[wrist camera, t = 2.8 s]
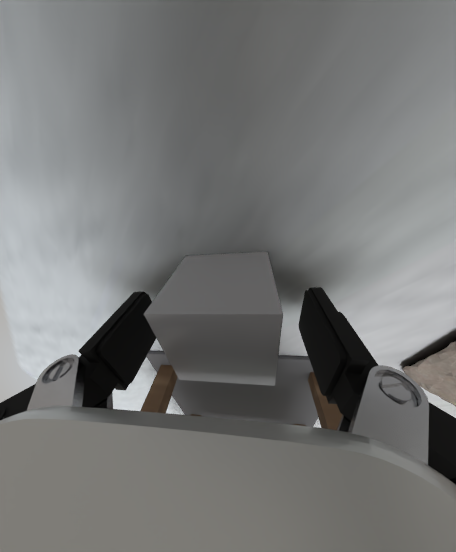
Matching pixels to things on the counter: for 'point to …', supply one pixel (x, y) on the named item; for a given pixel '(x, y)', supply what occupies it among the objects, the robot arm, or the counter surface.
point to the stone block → (220, 319)
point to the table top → (250, 395)
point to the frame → (160, 400)
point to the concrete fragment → (437, 373)
